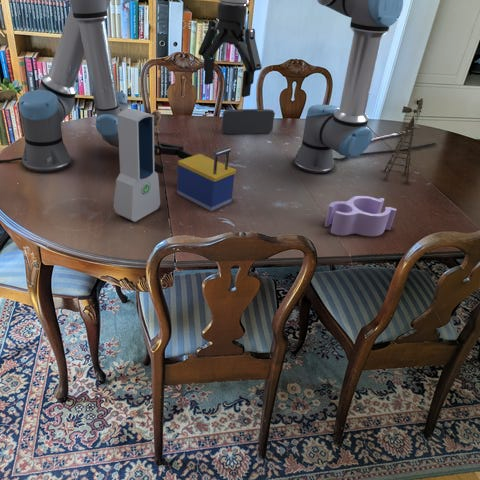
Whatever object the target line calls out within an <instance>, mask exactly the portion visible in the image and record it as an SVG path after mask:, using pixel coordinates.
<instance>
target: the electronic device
mask: <svg viewBox="0 0 480 480" xmlns="http://www.w3.org/2000/svg"><path fill="white" fill-rule="evenodd" d="M151 114H152V113H148V112H145V111H141V110H139V109H135V108H131V107H129V108H128V109H125V110H123V111H121V112H120V113H119V114H118V115H117V118H118V138H119V148H118V154H119V155H118V156H119V174H118V176H117V177H116V180H115V190H114V198H113V205H112V206H113V209H114V212H115V213H116V214H117V215H118V216H120V217H123V218H124V219H127V220H129V221H131V222H133V223H136V222H137V221H139V220H141V219H142V218H145V217H146V216H148V215H150V214H151V213H153V212H155V211H157V210H158V209H159V208H160V206H161V193H160V181H159V179H160V178H159V173H158V172H156V171H154V162H155V155H154V144H155V126H154V115H151Z"/></svg>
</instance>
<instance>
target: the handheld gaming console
mask: <svg viewBox="0 0 480 480" xmlns="http://www.w3.org/2000/svg"><path fill="white" fill-rule="evenodd" d="M275 115H276V112H275V111H274V110H273V109H270V108H269V109H267V108H265V109H263V108H246V109H245V108H244V109H242V108H241V109H239V108H237V109H235V108H234V109H224V111H223V112H222V122H221V131H222V133H223V134H225V135H239V134H240V135H241V134H269V133H272V132H273V129H274V120H275Z"/></svg>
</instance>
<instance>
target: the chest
mask: <svg viewBox="0 0 480 480" xmlns="http://www.w3.org/2000/svg"><path fill="white" fill-rule="evenodd" d="M234 179H235V174H233V175H230V176H228V177H225V178H223V179H221V180H218V181H216V182H214V181H212V180H210V179H207V178H205V177H203V176H201V175H199V174H197V173H195V172H193V171H191V170H189V169H187V168H184V167H182V166H180V165H178V164H177V186H176V189H177V190H176V194H177V195H179V196H182V197H183V198H185V199H187V200H188V201H191V202H193V203H195V204H197V205H198V206H200V207H202V208H204V209H206V210H208V211H210V212H213V211H215V210H217V209H219V208H221V207H224V206H225V205H228V204H230V203H232V201H233V192H234V191H233V190H234Z"/></svg>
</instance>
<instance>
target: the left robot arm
mask: <svg viewBox="0 0 480 480" xmlns="http://www.w3.org/2000/svg"><path fill="white" fill-rule="evenodd" d="M68 1H69V4H70V7H69V11H68V14H67V17H66V20H65V22H64V26H63V29H62V32H61V35H60V38H59V42H58V44H57V46H56V50H55V53H54V56H53V59H52V63H51V65H50V69H49V71H48V73H47V74H45V75H43V76H42V77H41V80H40V83H39V86H38V89H34V90H33V89H32V90H30V91H27V92H24V93H22V95H20V97H19V98H18V111H19V114H20V120H21V126H22V132H23V137H24V148H23V153H22V157H16V158H10V159H0V163H9V162H14V161H20V160H21V161H22V166H23V168H24V169H25V170H27V171H29V172H33V173H39V174H46V173H56V172H61V171H63V170H66V169H67V168H69V167H70V166H71V163H72V159H71V155H70V153H69V151H68V150H67V149H68V148H67V147H66V145H65V143H64V140H63V132H62V123H63V121H64V120H65V119H66V118H67V117H68V116H69V115H70V114H71V113H72V111H73V109H74V107H75V98H76V95H77V92H78V90H77V88H76V86H75V84H76V82H77V79H78V76H79V73H80V70H81V67H82V65H83V62H84V59H85V62H86V67H87V73H88V77H89V81H90V86H91V87H90V88H91V93H92V97H93V103H94V106H95V114H96V119H95V128H96V131H97V132H98V133H99V134H100V135H101V138H102V139H103V141H104V142H105V143H107V144H109V145H110V146H112V147H115V148H118V149H119V138H118V118H117V115H118V114H119V113H120V112H121V111H123V110H125V109H129V108H128V106H129V105H128V104H129V103H128V96H127V94H126V93H125V92H122V91H117V84H116V79H115V72H114V67H113V61H112V55H111V50H110V49H111V48H110V44H109V38H108V37H109V36H108V31H107V26H106V19H107V18H108V9H109V6H110V4H111V0H68ZM162 155H163V156H174V157H175V156H176V157H177V158H179V159H180V160H182V159H185V158H188V157H191V156H194V155H193V154H191V153H189V152H187V151H184V146H182V145H176V144H172V143H166V142H162V141H157V143H156V144H155V143H154V156H159V157H160V156H162ZM154 172H156V173H157V174H161V175H162V174H164V165H163V164H160V163H158V162H156V161H154Z"/></svg>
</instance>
